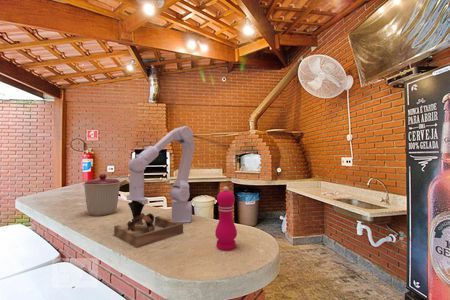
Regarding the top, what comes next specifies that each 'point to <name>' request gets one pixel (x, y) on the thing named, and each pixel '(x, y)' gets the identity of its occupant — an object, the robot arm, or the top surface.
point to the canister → (101, 195)
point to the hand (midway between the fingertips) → (136, 219)
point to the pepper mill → (226, 221)
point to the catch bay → (137, 240)
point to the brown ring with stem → (138, 220)
